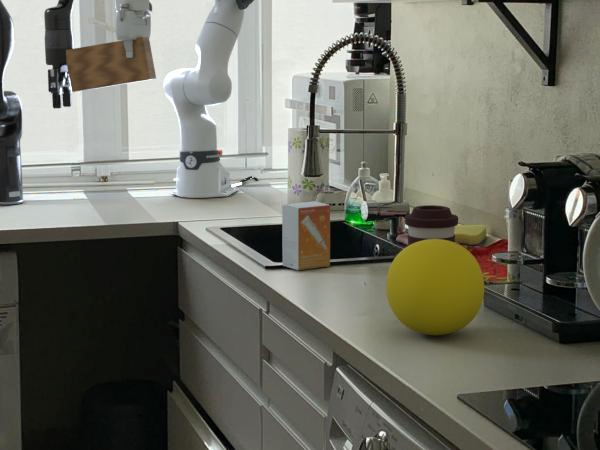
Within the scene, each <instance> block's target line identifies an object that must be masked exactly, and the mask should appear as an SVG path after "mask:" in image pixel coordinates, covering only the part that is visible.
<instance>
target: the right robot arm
mask: <svg viewBox="0 0 600 450" xmlns="http://www.w3.org/2000/svg"><path fill="white" fill-rule="evenodd" d="M254 1H255V0H214V5H213V6H212V9H211V10H210V12H209V13H208V15H207V17H206V20H205V21H204V24H203V26H202V28H201V31H200V33H199V35H198V37H197V40H196V42H195V44H194V45H195V51H196V53H197V55H198V62H197V65H196V66H195V68H180V69H176V70H174V71H170V72H169V73H168V74H167V75H166V76H165V78H164V81H163V92H164V94H165V97H166V98H167V99H168V100H169V101H170V102H171V104H172V106H173V108H174V111H175V113H176V116H177V119H178V120H177V121H178V124H179V134H180V150H179V162H180V164H179V166H178V167H177V168H176V177H175V178H173V181H175V189H174V190H172V195H175V196H177V197H180V198H189V199H190V198H191V199H192V198H193V199H197V198H198V199H205V198H206V199H207V198H219V197H220V198H222V197H229V196H231V195H232V194H234V193H236V192H237V191H238V186H242V185H243V183H246V182H248V181H250V180H254V181H255V182H258V181H259V179H258V178H257V177H256V178H252V176H253V175H250V176H247V177H246V178H242V179H241V180H240V181H238V182H236V183H234V184H231V177H230V172H229V171H228V170H227V169H226V168H225V166H223V164H222V163H221V157H223V154H224V151H223V149H218V139H217V138H218V137H217V124H216V122H215V121H214V120H213V119H212V118H211V116H210V115H209V111H208V110H207V107H206V106H216V105H220V104H223V103H225V102H227V101H228V100H229V99H230V97H231V95H232V93H233V82H232V80H231V77H230V75H229V73H228V71H229V70H228V68H229V61H230V57H231V55H232V53H233V49H234V47H235V45H236V42H237V40H238V37H239V35H240V32H241V28H242V25H243V21H244V17H245V16H244V15H245V10H246V9H248V7H249V6H251V4H252V3H253V2H254ZM114 3H115V4H114V6H115V12H116V14H115V38H116V40H117V41H122V40H124V47H125V50H126V57H127V58H133V57H134V51H133V46H132V44H133V40H136V39H137V38H140V37H149V39H150V38H151V31H152V28H151V27H152V15H151V13H152V12H153V4H152V3H151V1H150V0H114ZM250 178H252V179H250ZM244 179H246V180H244Z"/></svg>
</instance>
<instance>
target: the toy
mask: <svg viewBox="0 0 600 450" xmlns="http://www.w3.org/2000/svg"><path fill="white" fill-rule="evenodd" d="M385 290H386V291H385V292H386V296H387V297H386V298H387V302H388V304H389V307H390V310H391V311H392V313H393V315H394V316H395V318H396V319H397V320H398V321H399V322H400V323H401V324H402V325H403V326H405V327H406V328H408V329H410V330H411V331H413V332H416V333H418V334H422V335H426V336H445V335H450V334H453V333H456V332H458V331H460V330H462V329H463V328H465V327H467V326H468V325H469V324H470V323H471V322H472V321H474V319H475V318H476V316H477V315H478V313H479V312H480V309H481V307H482V304H483V302H484V296H485V279H484V275H483V271H482V269H481V266H480V264H479V262H478V260H477V259H476V258H475V256H474V255H473V254H472V253H471V252H470V251H469V250H468V249H467V248H465V247H464V246H463V245H460V244H459V243H457V242H455V243H454V242H451V241H447V240H442V239H427V240H422V241H418V242H415V243H413V244H411V245H409V246H408V245H407V246H406V247H404V248H403V249H402V250H400V251H399V252H398V253H397V254H396V256H395V257H394V259H393V260H392V262H391V264H390V266H389V269H388V271H387V275H386V284H385Z"/></svg>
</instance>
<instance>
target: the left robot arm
mask: <svg viewBox="0 0 600 450" xmlns="http://www.w3.org/2000/svg"><path fill="white" fill-rule="evenodd" d="M57 1H58V2H57V4H56V5H55V6H51V7H47V8H46V9H45V10H44V13H43V14H44V15H43V16H44V17H43V18H44V53H45V54H44V55H45V64H46V66H52V68H51V69H50V68H49V69H47V85H48V86H47V87H48V89H47V91H48V92H49V93H50V95H51V99H52V108H53V109H62V107H64V108H69V107H70V108H71V107H72V93H73V92H72V89H71V84H70V79H69V73H68V68H67V61H66V50H69V49H75V48H74V36H73V30H72V12H73V6H74V2H75V0H57ZM14 48H15V25H14V21H13V18H12V16H11V14H10V12H9V11H8V9H7V7H6V6H5V5H4V2H3V1H2V0H0V206H11V205H21V204H23V203H24V202H25V201H24V187H23V170H22V169H23V168H22V167H23V166H22V151H21V139H22V135H23V105H22V101H21V99H20V97H19V95H18V94H17V93H16V92H14V91H12V90H4V75H5V72H6V68H7V66H8V64H9V61H10V59H11V57H12V54H13V52H14V51H13V50H14Z"/></svg>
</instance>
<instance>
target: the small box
mask: <svg viewBox="0 0 600 450" xmlns="http://www.w3.org/2000/svg"><path fill="white" fill-rule="evenodd" d="M281 216H282V217H281V218H282V219H281V222H282V223H281V224H282V225H281V226H282V227H281V228H282V229H281V231H282V233H281V236H282V242H281V244H282V266H283V267H286V268H288V269H289V268H290V269H291V270H296V271H301V270H302V271H303V270H309V269H318V268H319V269H320V268H326V267H330V266H331V204H328V203H323V202H319V201H314V200H313V201H305V202H303V201H302V202H294V203H285V204H282V205H281Z"/></svg>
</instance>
